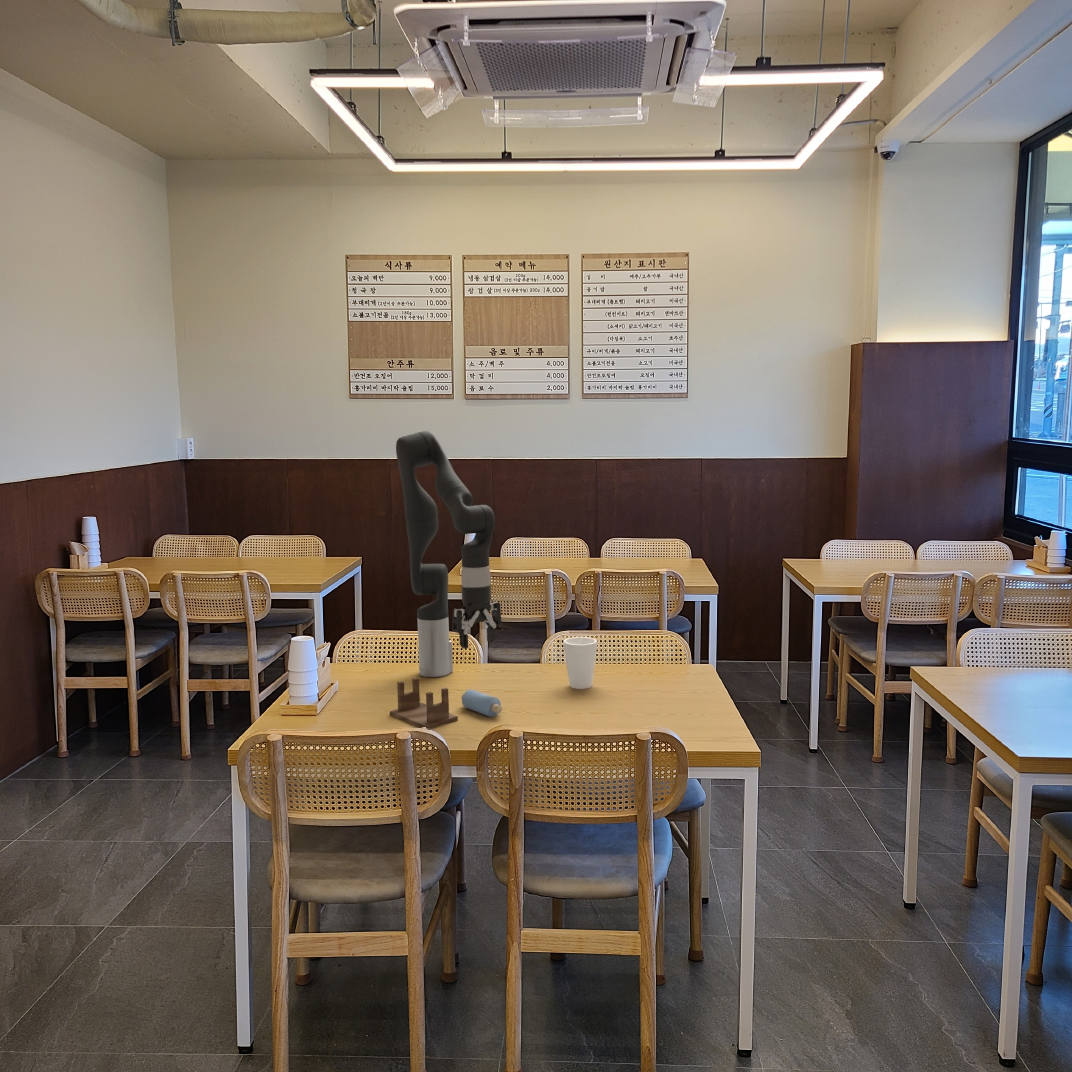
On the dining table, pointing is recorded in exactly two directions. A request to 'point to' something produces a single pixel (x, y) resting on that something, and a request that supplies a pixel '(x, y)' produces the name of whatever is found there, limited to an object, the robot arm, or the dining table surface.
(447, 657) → the robot arm
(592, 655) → the foam cup
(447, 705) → the roll holder
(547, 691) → the dining table surface
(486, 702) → the towel roll
